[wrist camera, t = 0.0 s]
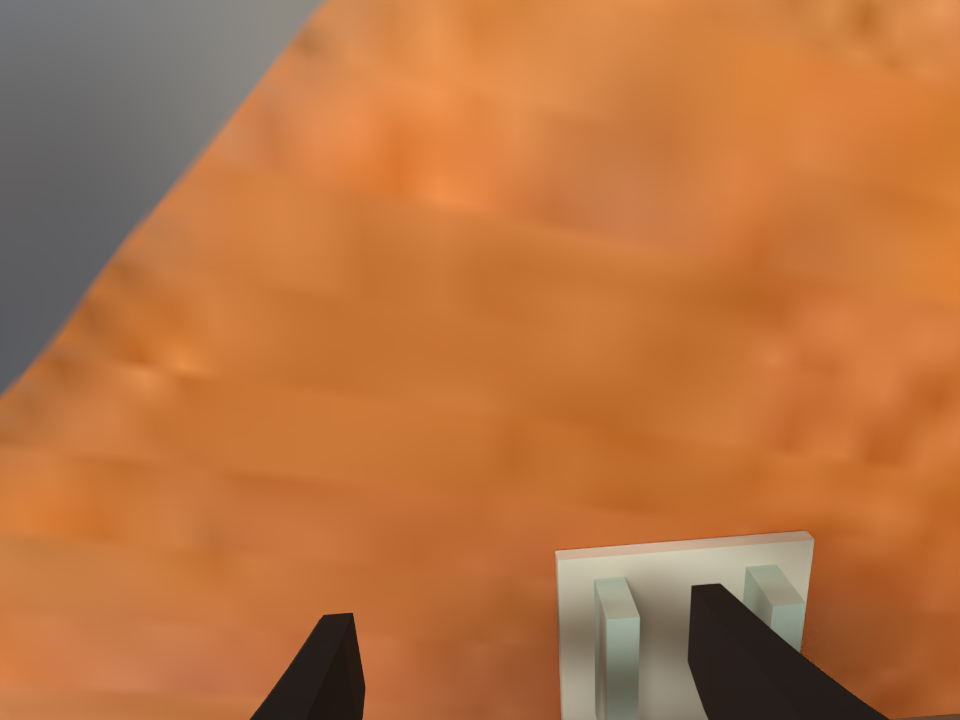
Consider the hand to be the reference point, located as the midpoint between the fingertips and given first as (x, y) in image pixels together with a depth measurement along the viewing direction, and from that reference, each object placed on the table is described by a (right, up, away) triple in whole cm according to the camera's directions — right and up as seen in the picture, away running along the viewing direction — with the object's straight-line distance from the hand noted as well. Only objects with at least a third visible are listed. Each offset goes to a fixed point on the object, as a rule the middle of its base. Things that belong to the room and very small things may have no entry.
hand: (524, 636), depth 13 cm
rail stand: (+7, -6, +13) cm, 16 cm away
